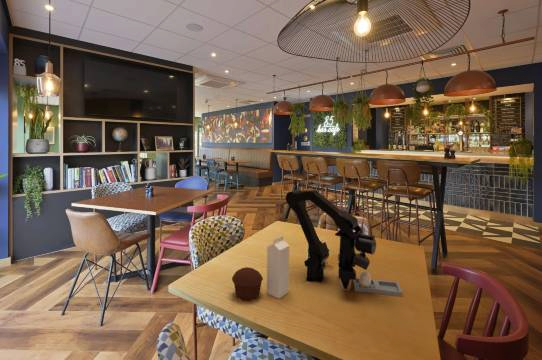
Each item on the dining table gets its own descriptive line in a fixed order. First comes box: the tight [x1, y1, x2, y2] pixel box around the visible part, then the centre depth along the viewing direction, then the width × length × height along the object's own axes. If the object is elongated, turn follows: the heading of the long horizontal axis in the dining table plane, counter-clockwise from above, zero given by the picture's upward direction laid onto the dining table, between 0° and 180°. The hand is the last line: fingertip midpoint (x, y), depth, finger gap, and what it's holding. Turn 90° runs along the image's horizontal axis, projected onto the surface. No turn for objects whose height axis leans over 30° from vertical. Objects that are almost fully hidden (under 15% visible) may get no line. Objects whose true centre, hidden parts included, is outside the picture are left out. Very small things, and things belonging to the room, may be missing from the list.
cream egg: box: [358, 271, 372, 288], centre depth 115 cm, size 4×4×6 cm
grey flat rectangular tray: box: [352, 277, 403, 297], centre depth 115 cm, size 17×8×2 cm, turn 78°
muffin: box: [231, 266, 264, 302], centre depth 109 cm, size 12×11×10 cm
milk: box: [266, 235, 290, 299], centre depth 110 cm, size 6×6×22 cm
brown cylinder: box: [339, 278, 352, 291], centre depth 115 cm, size 4×4×6 cm
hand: (345, 285), depth 115 cm, fingers closed on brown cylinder, 4 cm apart
